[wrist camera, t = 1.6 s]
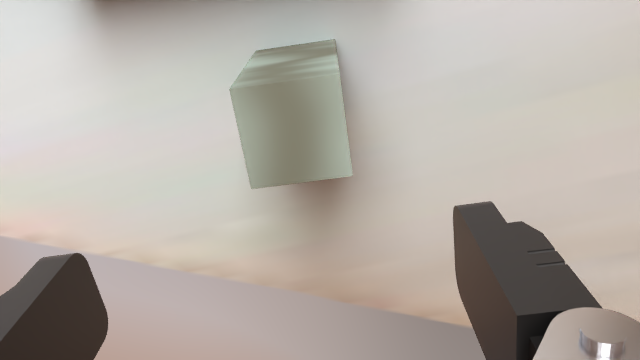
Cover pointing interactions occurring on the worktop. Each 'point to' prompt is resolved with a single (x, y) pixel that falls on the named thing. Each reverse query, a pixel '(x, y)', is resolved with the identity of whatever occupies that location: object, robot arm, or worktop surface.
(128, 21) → the worktop surface
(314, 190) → the worktop surface
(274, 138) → the peg
